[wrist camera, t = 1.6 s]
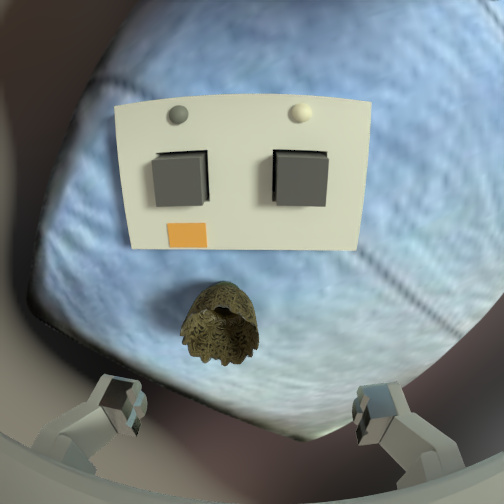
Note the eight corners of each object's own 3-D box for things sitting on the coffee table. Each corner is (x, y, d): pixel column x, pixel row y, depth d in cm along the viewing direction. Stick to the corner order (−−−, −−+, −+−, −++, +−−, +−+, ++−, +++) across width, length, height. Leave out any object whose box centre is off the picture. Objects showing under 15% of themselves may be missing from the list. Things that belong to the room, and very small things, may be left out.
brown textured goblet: (266, 271, 33) (268, 319, 26) (251, 321, 36) (250, 372, 29) (198, 257, 32) (183, 303, 25) (191, 309, 35) (177, 358, 28)
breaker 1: (163, 153, 25) (151, 160, 22) (206, 151, 25) (199, 157, 22) (166, 195, 27) (156, 207, 24) (208, 194, 27) (202, 205, 24)
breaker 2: (275, 150, 25) (277, 156, 22) (321, 152, 25) (329, 158, 22) (274, 194, 27) (276, 205, 24) (318, 195, 27) (325, 206, 24)
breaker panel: (127, 105, 25) (112, 106, 22) (360, 102, 24) (373, 102, 21) (141, 236, 31) (130, 250, 28) (348, 237, 31) (357, 252, 28)
